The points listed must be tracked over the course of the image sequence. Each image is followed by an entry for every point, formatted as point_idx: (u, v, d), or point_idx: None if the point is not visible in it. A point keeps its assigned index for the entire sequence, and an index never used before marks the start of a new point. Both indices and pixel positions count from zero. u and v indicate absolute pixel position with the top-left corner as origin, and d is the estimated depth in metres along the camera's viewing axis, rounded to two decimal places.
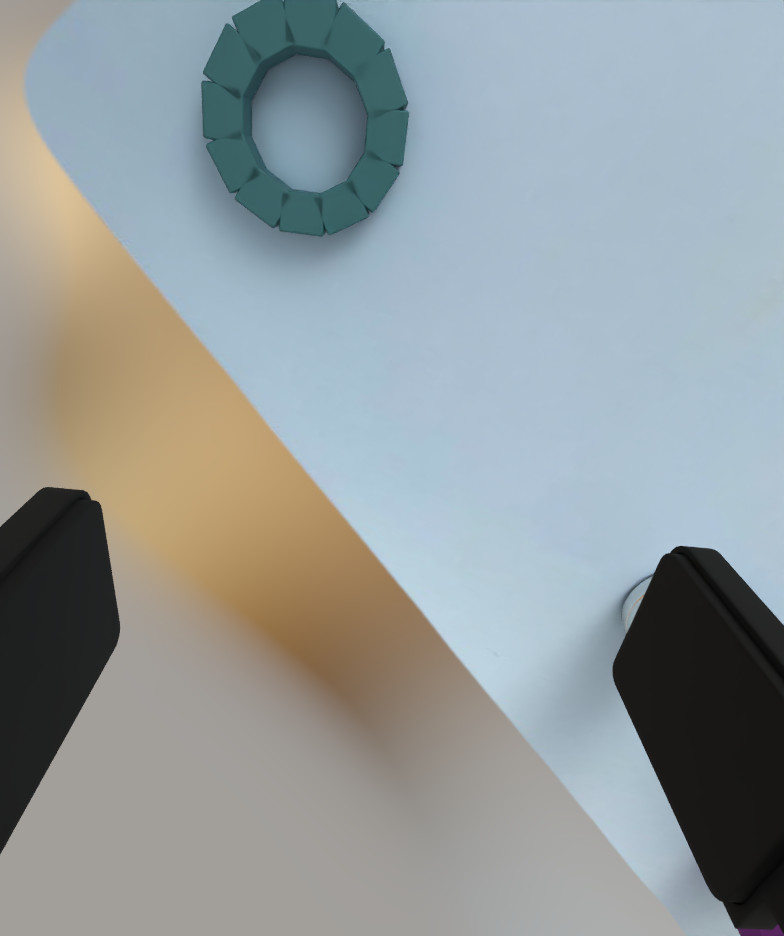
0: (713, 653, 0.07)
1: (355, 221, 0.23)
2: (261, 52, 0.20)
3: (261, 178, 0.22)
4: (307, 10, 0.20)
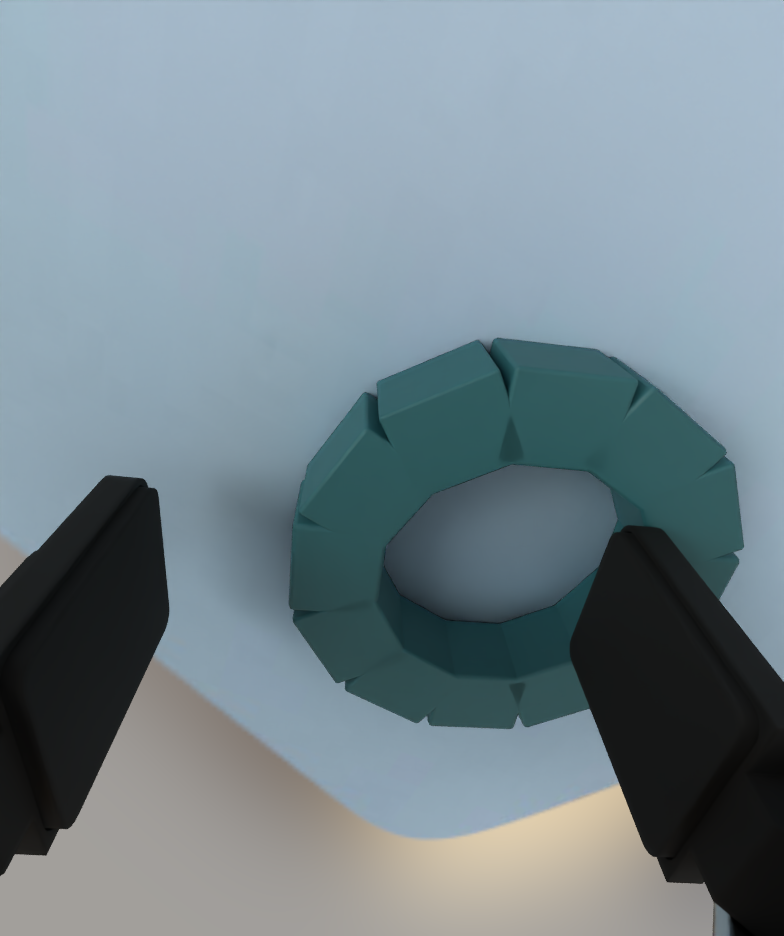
0: (651, 624, 0.08)
1: (735, 493, 0.09)
2: (388, 648, 0.10)
3: None
4: (318, 576, 0.09)
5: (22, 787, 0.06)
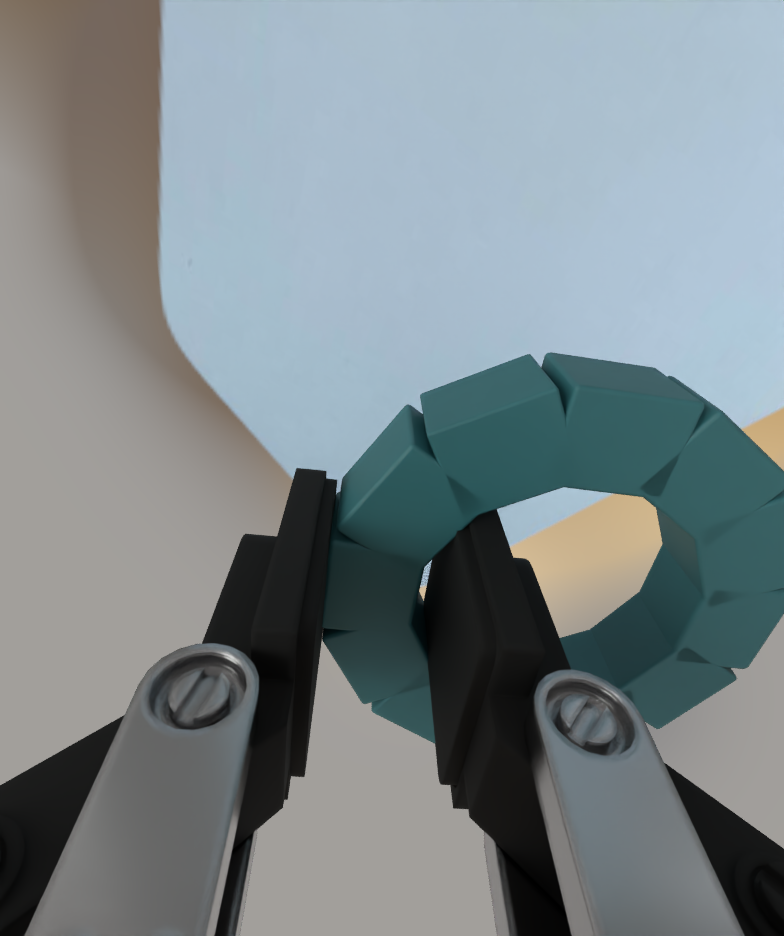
0: (454, 570, 0.08)
1: None
2: (419, 671, 0.10)
3: (636, 689, 0.10)
4: (351, 594, 0.09)
5: (290, 735, 0.07)
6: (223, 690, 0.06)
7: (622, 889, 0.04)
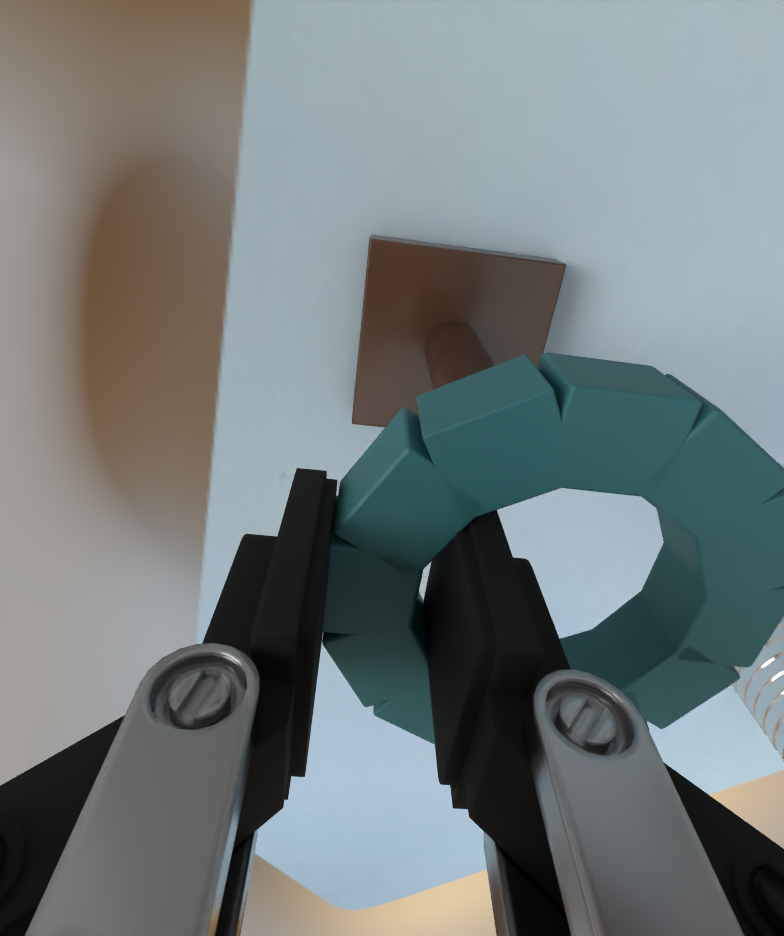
0: (453, 570, 0.08)
1: None
2: (420, 673, 0.10)
3: (639, 689, 0.10)
4: (351, 598, 0.09)
5: (290, 735, 0.07)
6: (223, 690, 0.06)
7: (622, 889, 0.04)
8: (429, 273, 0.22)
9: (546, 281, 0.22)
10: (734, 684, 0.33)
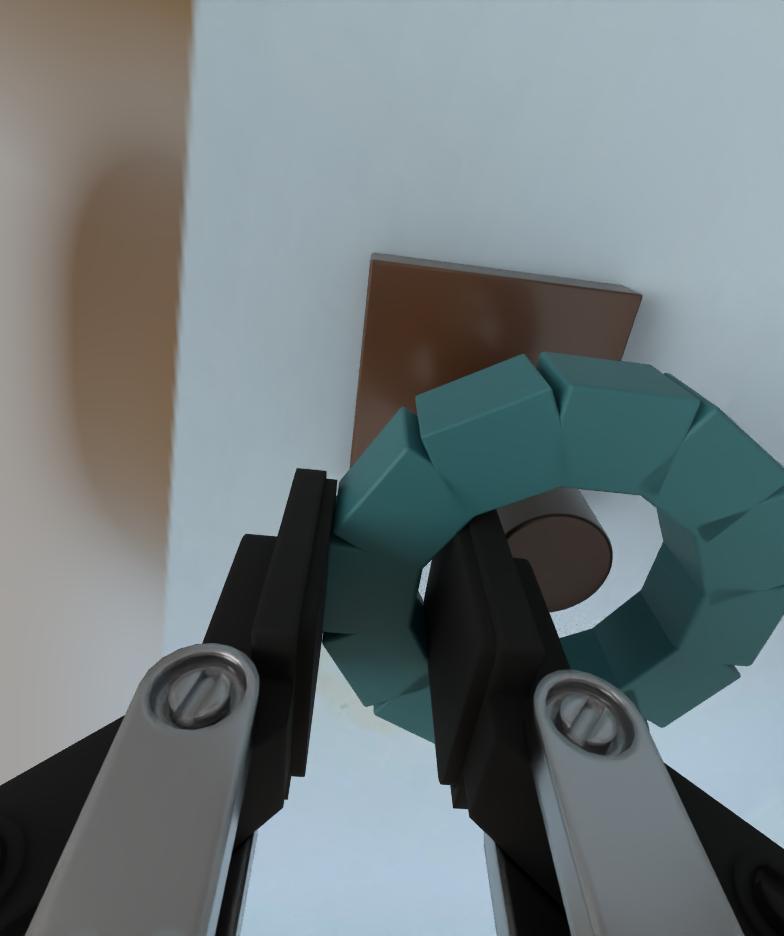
0: (453, 571, 0.08)
1: None
2: (420, 673, 0.10)
3: (639, 688, 0.10)
4: (350, 598, 0.09)
5: (290, 735, 0.07)
6: (223, 690, 0.06)
7: (622, 890, 0.04)
8: (452, 307, 0.16)
9: (614, 317, 0.16)
10: None
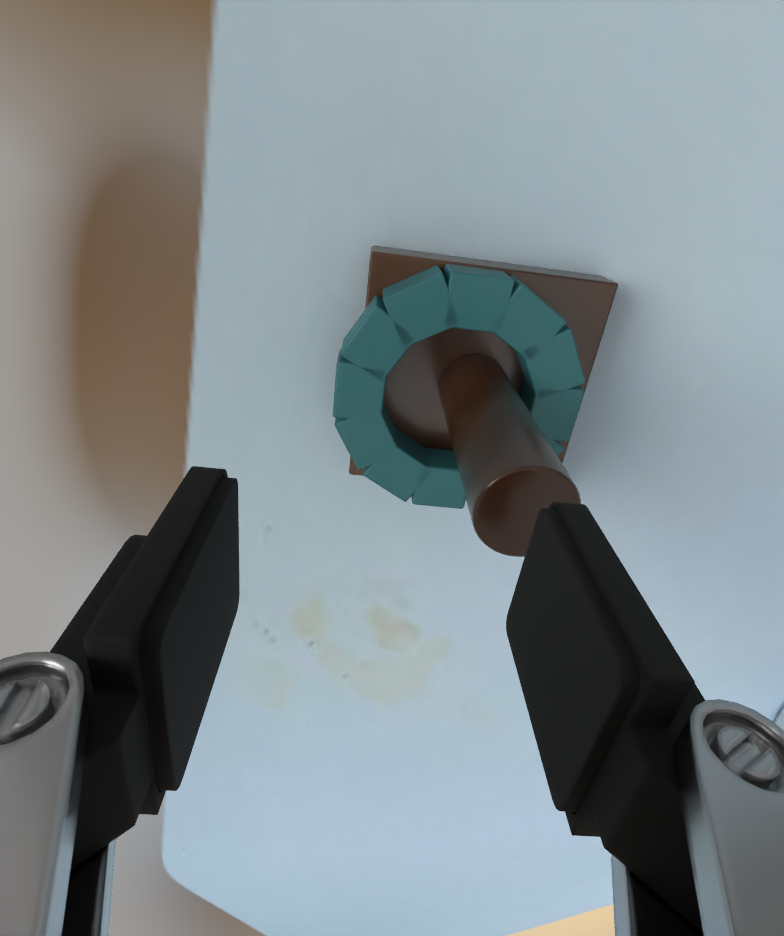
0: (564, 592, 0.08)
1: (574, 347, 0.17)
2: (388, 445, 0.18)
3: None
4: (349, 394, 0.17)
5: (147, 748, 0.06)
6: (43, 703, 0.05)
7: None
8: None
9: (592, 304, 0.18)
10: None
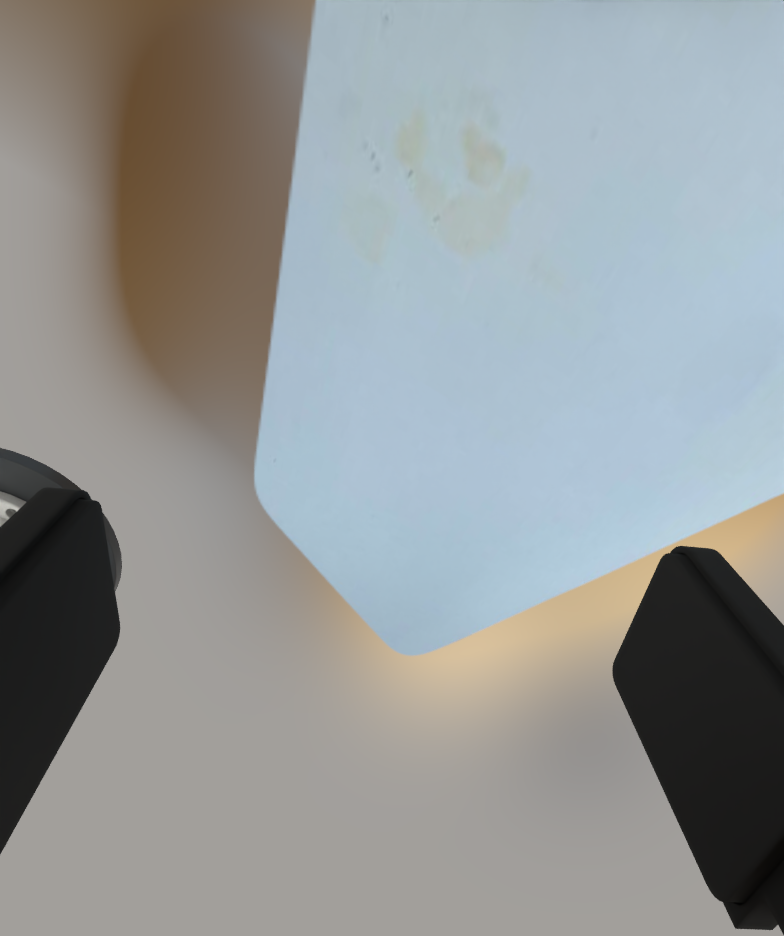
0: (713, 653, 0.07)
1: None
2: None
3: None
4: None
5: None
6: None
7: None
8: None
9: None
10: None
